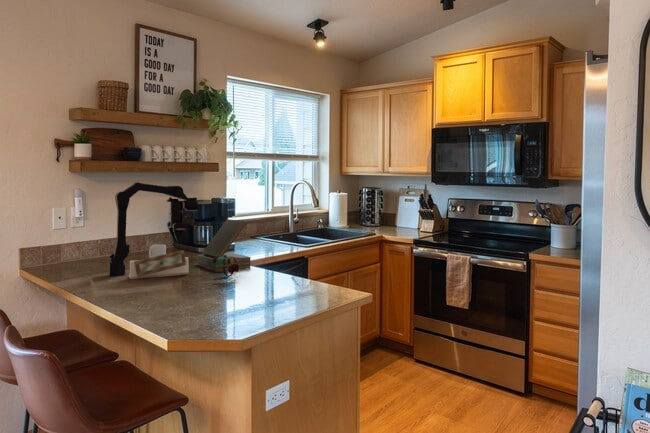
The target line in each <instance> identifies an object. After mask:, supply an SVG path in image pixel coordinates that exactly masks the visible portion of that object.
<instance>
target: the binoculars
mask: <svg viewBox="0 0 650 433" xmlns="http://www.w3.org/2000/svg"><path fill="white" fill-rule="evenodd" d="M213 262H214V263H216V262H217V264H223V265H228V264H231V265H232V266H229V268H228V271H226V272H225V268H226V267H227V266H222V267H223V272H222V273H223V275H225V276H226V277H233V275H234V273H237V272H239V271H240V270H239V266H238V262H239V257H236V258H235V257H232V256H231V257H227V256H226V255H224V256H223V257H219V258H218V259H216V258H214V259H213ZM234 263H237V264H234ZM227 272H228V273H229V274H230V275H228V274H227Z"/></svg>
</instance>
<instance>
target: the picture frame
mask: <svg viewBox="0 0 650 433" xmlns="http://www.w3.org/2000/svg"><path fill="white" fill-rule="evenodd" d="M185 257H186V256H185V250H178V251H173V252H169V253H166V254H164V255H160V256H156V257H152V256H151V258H149V257H148V258H143V259H139V260H138V261H137V260H133V261H134V262H135V267H136V272H137V276H138V277H140V276H144V275H148V274H152V273H156V272H160V271H164V270H168V269H172V268H176V267H180V266H184V265H186V260H185Z"/></svg>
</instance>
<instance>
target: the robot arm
mask: <svg viewBox="0 0 650 433" xmlns="http://www.w3.org/2000/svg"><path fill="white" fill-rule="evenodd" d="M139 191H140V192H148V193H155V194H157V193H158V194H161V195H165V196H167V197H168V198H167V199H166V202H167V203H170V213H169V215H170V221H167V223H166V227H167V229H168V232H169V233H170V235H171V238H172V240H173V242H176V243H177V244H180V243H181V240H182V235H183V233H184V232H185V231H187V228H188V225H189V226H193V225H194V223H195V219H194V218H192V217H191V216H190V215H186V216H185V214H184V212H183V211H184V210H185V211H186V212H188V211H189V212H194V211H195V212H196V211H198V210H199V202H198V198H197V197H188V196H187V195H186V194H185V193H184V189H183V187H182V186H180V185H168V186H167V185H166V186H165V185H164V186H163V185H156V184H148V183H142V182H138V181H137V182H134V183H132V185H130V186H129V187H127V188H125V189H124V190H123V191H118V192H117V193H115V195H114V199H115V206H116V209H117V216H116V218H117V219H116V222H117V223H116V241H115V244H114V248H113V252H112V254H110V256H109V257H108V260H109V262H108V277H109V278H110V277H124V276H126V265H125V263H124V261H125V259H127V258H128V256H129V254H130V253H131V252H130V247H131V245H130V244H129V243H128V242H127V241H126V239H127V237H126V236H127V210H128V209H129V204H130V201H131V200H130V199H131V198H132V197H133V196H134V195H135V194H137V193H139ZM183 209H184V210H183Z"/></svg>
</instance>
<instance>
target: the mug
mask: <svg viewBox="0 0 650 433" xmlns="http://www.w3.org/2000/svg"><path fill="white" fill-rule="evenodd" d="M166 250H167V245H166V244H163V243H161V244H160V243H159V244H157V243H155V244H151V246H150V247H149V250H148V258H151V257H156V256H160V255H164V254H167V253H166V252H167V251H166Z"/></svg>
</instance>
